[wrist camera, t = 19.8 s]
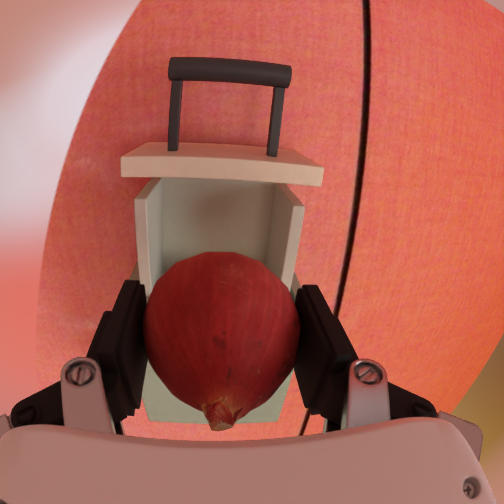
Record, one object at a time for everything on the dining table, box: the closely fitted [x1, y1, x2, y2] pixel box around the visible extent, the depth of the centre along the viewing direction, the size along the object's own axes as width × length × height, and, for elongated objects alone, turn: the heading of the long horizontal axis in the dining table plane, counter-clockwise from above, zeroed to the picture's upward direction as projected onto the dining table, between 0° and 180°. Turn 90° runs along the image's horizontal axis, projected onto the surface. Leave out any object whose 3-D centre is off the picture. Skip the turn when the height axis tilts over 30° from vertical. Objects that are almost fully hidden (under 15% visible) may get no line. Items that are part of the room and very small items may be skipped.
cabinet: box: [129, 260, 301, 424], centre depth 26 cm, size 15×13×9 cm
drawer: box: [120, 57, 324, 299], centre depth 20 cm, size 19×11×7 cm, turn 174°
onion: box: [142, 252, 301, 431], centre depth 11 cm, size 6×6×8 cm
